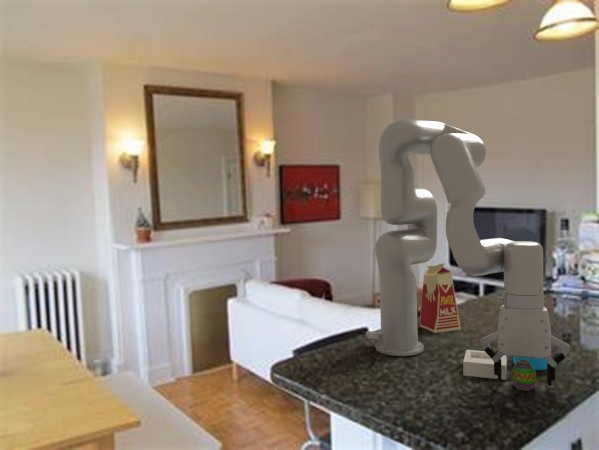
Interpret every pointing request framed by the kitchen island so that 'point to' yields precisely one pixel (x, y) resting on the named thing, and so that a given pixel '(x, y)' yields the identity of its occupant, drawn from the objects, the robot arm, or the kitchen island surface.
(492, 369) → the square tray
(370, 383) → the kitchen island surface
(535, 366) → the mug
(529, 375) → the egg
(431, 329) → the milk carton
